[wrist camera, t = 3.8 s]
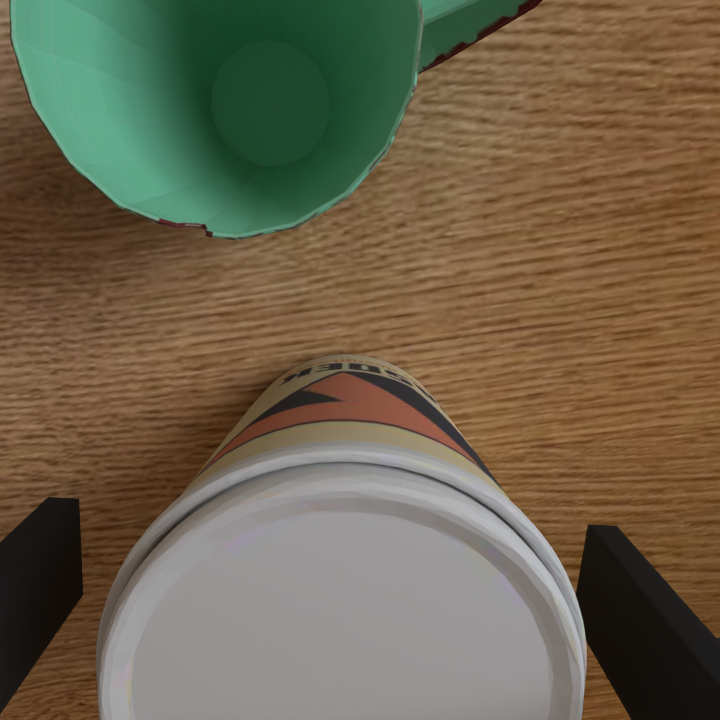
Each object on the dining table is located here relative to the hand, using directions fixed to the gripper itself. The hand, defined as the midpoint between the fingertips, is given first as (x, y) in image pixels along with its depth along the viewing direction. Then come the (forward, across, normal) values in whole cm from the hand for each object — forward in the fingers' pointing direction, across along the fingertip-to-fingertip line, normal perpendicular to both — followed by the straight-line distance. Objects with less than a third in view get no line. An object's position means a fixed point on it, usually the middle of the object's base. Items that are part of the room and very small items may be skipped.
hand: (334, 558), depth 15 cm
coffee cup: (+7, 0, 0) cm, 7 cm away
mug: (+7, -1, +13) cm, 15 cm away
